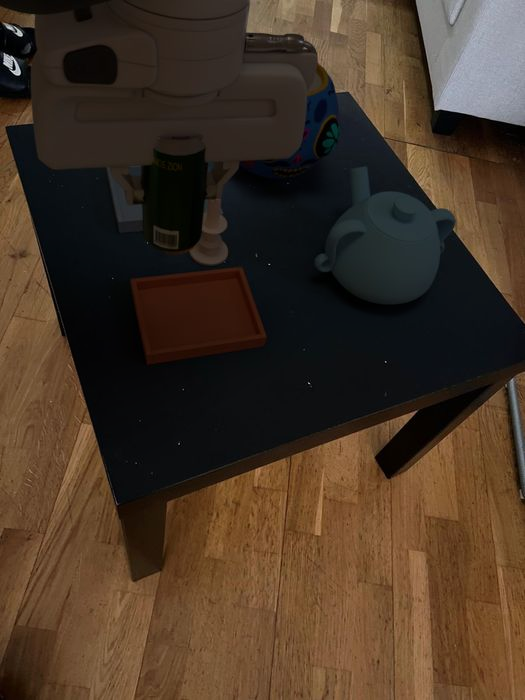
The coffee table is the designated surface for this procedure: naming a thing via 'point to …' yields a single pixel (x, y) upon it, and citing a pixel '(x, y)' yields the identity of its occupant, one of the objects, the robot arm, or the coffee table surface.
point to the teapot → (385, 244)
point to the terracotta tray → (196, 314)
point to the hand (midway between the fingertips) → (172, 197)
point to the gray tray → (130, 214)
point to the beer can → (175, 194)
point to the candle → (211, 237)
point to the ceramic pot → (307, 133)
